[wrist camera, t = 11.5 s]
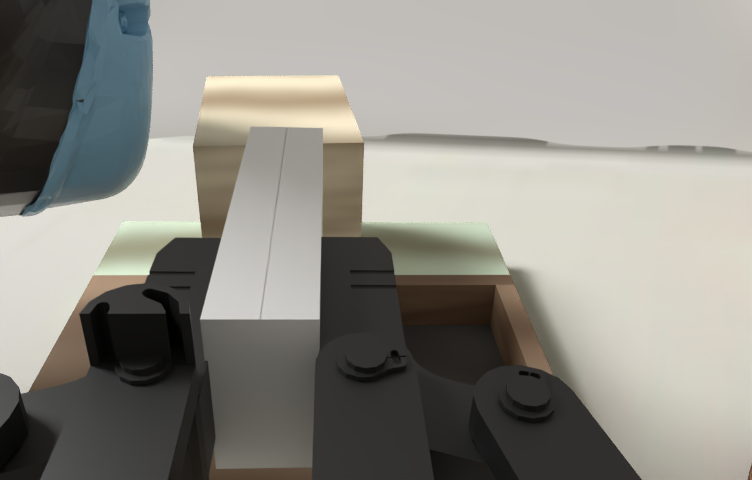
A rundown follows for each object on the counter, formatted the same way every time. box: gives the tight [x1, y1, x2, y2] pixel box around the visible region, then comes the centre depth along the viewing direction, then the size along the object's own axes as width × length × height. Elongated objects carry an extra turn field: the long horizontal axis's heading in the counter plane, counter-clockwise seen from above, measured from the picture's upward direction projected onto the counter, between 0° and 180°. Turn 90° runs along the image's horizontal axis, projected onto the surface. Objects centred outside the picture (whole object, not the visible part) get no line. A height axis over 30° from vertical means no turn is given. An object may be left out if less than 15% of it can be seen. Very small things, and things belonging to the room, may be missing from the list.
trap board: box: [29, 221, 553, 480], centre depth 28 cm, size 32×22×3 cm
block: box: [193, 75, 364, 238], centre depth 35 cm, size 10×7×9 cm
